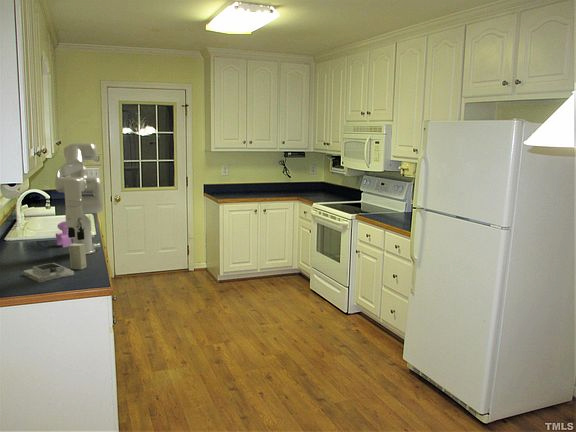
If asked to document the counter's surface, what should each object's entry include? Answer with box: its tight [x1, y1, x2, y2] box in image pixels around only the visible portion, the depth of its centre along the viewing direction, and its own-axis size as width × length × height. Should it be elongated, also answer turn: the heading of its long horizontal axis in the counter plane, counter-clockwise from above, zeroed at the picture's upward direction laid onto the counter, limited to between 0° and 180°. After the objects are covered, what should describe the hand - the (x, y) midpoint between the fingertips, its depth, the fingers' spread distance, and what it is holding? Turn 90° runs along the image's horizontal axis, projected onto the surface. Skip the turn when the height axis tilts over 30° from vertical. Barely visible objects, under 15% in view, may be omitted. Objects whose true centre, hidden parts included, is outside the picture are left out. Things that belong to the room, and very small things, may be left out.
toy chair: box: [55, 220, 73, 248], centre depth 298 cm, size 8×9×15 cm
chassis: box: [22, 262, 75, 283], centre depth 237 cm, size 16×18×4 cm
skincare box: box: [68, 242, 87, 270], centre depth 248 cm, size 6×4×12 cm
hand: (76, 238), depth 246 cm, fingers open, 9 cm apart
